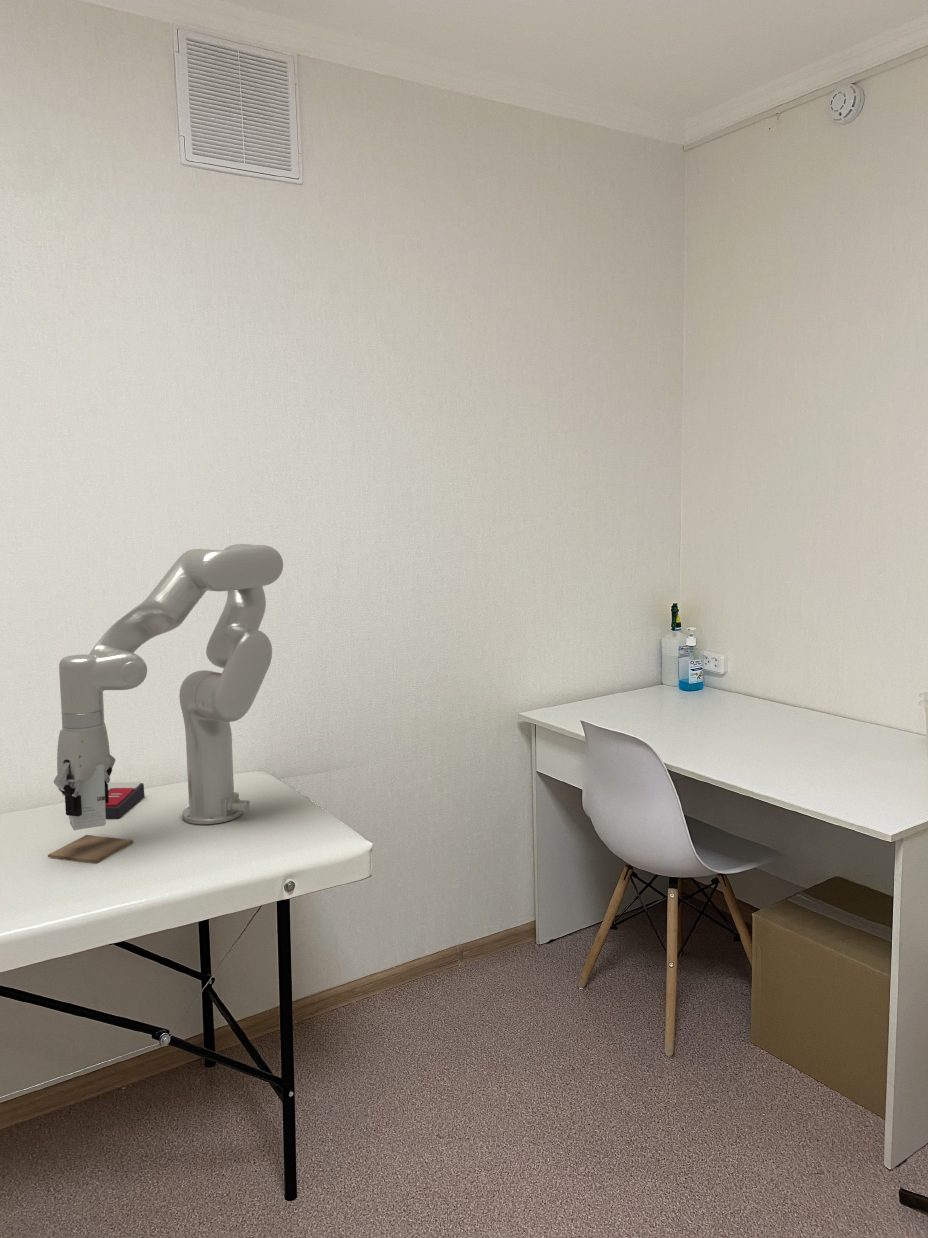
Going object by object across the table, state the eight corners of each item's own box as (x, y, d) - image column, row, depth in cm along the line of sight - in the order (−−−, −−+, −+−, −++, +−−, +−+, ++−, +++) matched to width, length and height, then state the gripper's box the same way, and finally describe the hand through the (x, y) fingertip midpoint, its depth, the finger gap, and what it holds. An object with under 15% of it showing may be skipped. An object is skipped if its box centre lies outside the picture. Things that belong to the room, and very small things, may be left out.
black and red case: (67, 804, 197) (96, 779, 211) (69, 823, 198) (98, 797, 212) (118, 804, 196) (144, 779, 211) (119, 823, 197) (145, 797, 212)
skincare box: (73, 831, 175) (70, 769, 174) (69, 824, 179) (66, 764, 177) (107, 825, 178) (104, 764, 177) (102, 819, 182) (99, 759, 181)
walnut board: (133, 842, 183) (133, 840, 183) (96, 863, 172) (96, 860, 172) (86, 837, 186) (86, 834, 186) (48, 857, 176) (47, 854, 176)
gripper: (96, 709, 185) (100, 794, 187) (34, 728, 169) (39, 822, 171) (128, 711, 183) (132, 797, 185) (68, 731, 167) (73, 825, 169)
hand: (87, 808), depth 178 cm, fingers closed on skincare box, 7 cm apart
